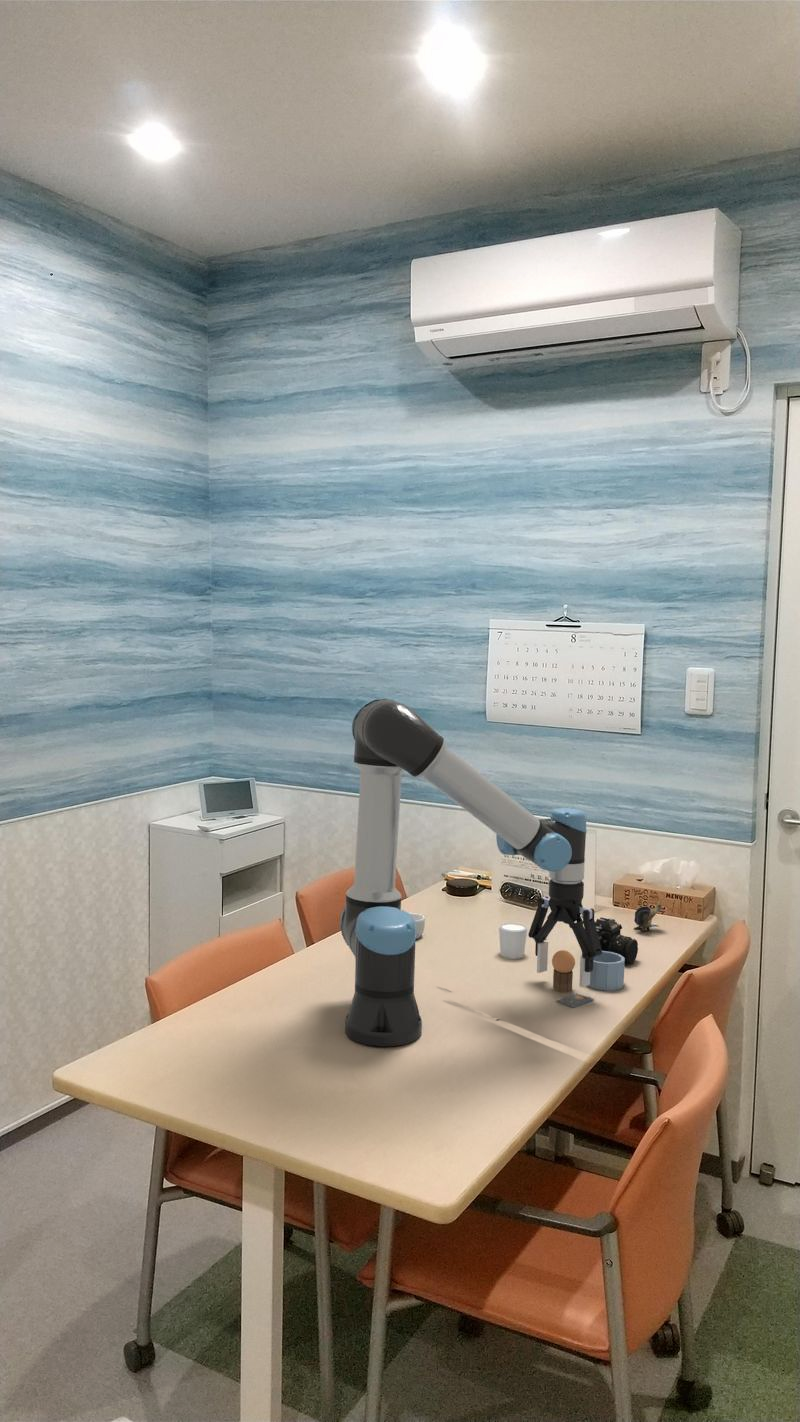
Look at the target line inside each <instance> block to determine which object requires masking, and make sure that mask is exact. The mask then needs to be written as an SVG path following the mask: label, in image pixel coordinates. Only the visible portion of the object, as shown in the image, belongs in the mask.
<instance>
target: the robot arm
mask: <svg viewBox="0 0 800 1422" xmlns="http://www.w3.org/2000/svg"><path fill="white" fill-rule="evenodd" d="M351 724H352V725H351V731H352V733H351V734H352V737H353V740H354V753H353V754H354V755H353V764H354V765H355V766H356V767H357V769H358V770H359V771H360V778H359V793H358V794H359V795H358V810H357V826H356V829H357V830H356V842H355V843H356V844H355V845H356V846H355V860H354V862H355V864H354V877H353V880H354V881H353V885H352V886H351V887H350V888H349V889H347V890H346V892H345V905H344V906H345V907H343V911H342V913H341V915H340V916H341V917H340V932H341V935H342V938H343V940H344V942H345V943H346V945H347V946H348V947H349V950H350V952H351V953H352V955H353V956H354V958H355V959H354V960H355V966H354V967H355V969H354V994H353V997H352V1000H351V1002H350V1007H349V1012H348V1013H347V1015H346V1017H345V1018H344V1019H345V1021H344V1032H345V1034H346V1036H347V1037H348V1038H350V1040H353V1041H355V1042H357V1043H360V1044H363V1045H368V1046H376V1047H377V1046H378V1047H395V1046H400V1045H406V1044H409V1043H412V1042H414V1041H416V1040H418V1039H419V1038H421V1036H422V1031H423V1020H422V1016H421V1015H420V1012H419V1011H420V1010H419V1007H418V1003H417V1000H416V997H415V973H416V972H415V968H416V967H415V965H416V940H417V939H416V929H415V921H414V919H413V917H412V916H411V915H410V914H409V913H410V912H407V911H405V910H403V909H401V908H402V894H401V892H400V891H399V890H398V889H397V888H396V876H397V875H396V872H397V856H398V841H399V823H400V811H401V809H400V807H401V794H402V793H401V792H402V790H401V789H402V778H403V775H402V774H403V773H404V772H407V773H408V774H410V775H411V777H414V778H423V779H424V780H425V781H427V782H428V783H430V785H432V786H433V787H435V788H436V789H437V790H439V791H440V792H441V793H443V794H444V795H445V796H447V798H449V799H450V800H452V801H453V802H455V804H457V805H458V806H460V807H461V808H462V809H463V810H465V811H466V812H467V813H468V814H470V815H471V816H473V818H475V819H476V820H478V821H479V822H480V823H482V824H483V825H485V826H486V827H487V828H488V829H490V830H491V831H492V832H493V833H495V834H496V836H495V837H496V845H497V846H496V847H497V849H498V851H499V852H500V853H501V854H502V855H503V856H505V855H508V856H513V857H514V856H522V857H523V858H524V859H526V860H528V861H529V862H531V863H533V864H534V865H536V866H538V867H539V868H540V869H541V870H544V871H547V872H549V874H548V877H549V878H550V880H549V881H548V896H549V897H548V896H543V897H539V898H537V909H536V910H535V913H534V917H533V920H532V923H531V925H530V928H529V931H528V932H527V934H528V935H527V936H528V938H530V939H531V938H532V939H533V940H534V943H535V952H534V953H535V956H537V957H536V959H537V962H536V973H538V974H540V973H543V972H547V971H548V964H549V963H548V958H549V954H548V953H549V941H547V940H548V938H547V937H548V936H549V935H550V934H551V932H552V930H553V929H554V927H555V926H556V925H557V923H558V922H562V923H564V924H567V925H568V926H569V928H570V929H571V930H572V931H573V934H574V936H575V939H576V941H577V943H578V945H579V948H580V950H581V953H582V952H583V955H584V956H582V955H581V956H580V959H579V961H580V962H579V984H578V985H579V987H580V988H585V987H588V985H590V972H591V971H593V961H594V957H595V956H598V955H601V954H602V949H601V945H600V941H599V937H598V933H597V929H596V925H595V922H596V920H595V909H594V908H589V909H588V908H585V907H584V906H583V903H582V902H583V899H584V892H585V889H584V888H585V883H584V881H583V880H584V879H585V864H586V863H585V861H586V860H585V859H586V858H585V857H586V855H585V854H586V839H587V816H586V813H585V812H584V811H583V810H580V809H577V808H568V807H567V808H565V807H560V808H554V809H552V811H551V813H550V814H551V815H550V818H544V819H542V818H541V819H539V818H538V817H536V816H535V815H534V814H532V812H530V811H528V810H527V809H526V808H525V807H523V806H522V805H521V804H520V803H518V802H517V801H516V800H515V799H514V798H512V797H510V796H509V795H508V794H507V793H506V792H505V791H503V790H502V789H501V788H499V787H498V786H497V785H495V784H494V783H493V782H492V781H491V780H489V779H488V778H487V777H485V776H484V775H483V774H482V773H480V772H479V771H478V770H477V769H475V768H474V767H473V766H471V765H470V764H469V763H467V762H466V761H465V760H464V759H463V758H461V757H460V756H459V755H457V754H456V753H455V752H453V750H451V749H450V748H448V747H447V745H446V739H445V737H443V736H442V735H441V734H439V733H438V732H437V731H435V730H434V728H432V727H431V726H430V725H429V724H427V722H426V721H425V720H424V719H423V718H422V717H421V716H420V715H419V714H418V713H417V712H416V711H414V710H413V708H411V707H410V706H408V705H406V704H404V703H401V702H398V701H395V700H393V699H389V698H375V699H373V700H369V701H367V702H366V703H364V704H363V705H361V706H360V707H359V709H358V710H356V712H355V714H354V717H353V718H352V723H351ZM549 909H550V913H549V914H548V910H549ZM547 914H548V916H547ZM546 916H547V917H546ZM545 920H546V921H545ZM544 921H545V922H544Z"/></svg>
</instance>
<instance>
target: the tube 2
mask: <svg viewBox="0 0 800 1422" xmlns="http://www.w3.org/2000/svg"><path fill="white" fill-rule="evenodd" d="M625 965H626V964H625V958H624V957H623V956H621V955H620V954H616V953H613V952H607V951H602V954H601V955H598V956H595V957H594V961H593V971H591V972H590V985H588V986H587V987H588V988H590V989H593V990H600V991H617V990H621V989H622V988H624V985H625Z"/></svg>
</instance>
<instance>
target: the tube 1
mask: <svg viewBox="0 0 800 1422" xmlns="http://www.w3.org/2000/svg"><path fill="white" fill-rule="evenodd" d="M573 973H574V972H573V970H572V971H571V972H569V973H560V972H557V971H556V970H555V969H554V968H553V975H552V989H553V990H554V991H556V992H560V993H568V992H571V991H573V976H574V974H573Z"/></svg>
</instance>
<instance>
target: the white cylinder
mask: <svg viewBox="0 0 800 1422" xmlns="http://www.w3.org/2000/svg"><path fill="white" fill-rule="evenodd" d="M498 930H499V931H498V933H499V951H500V956H501V957H503V958H506V959H510V960H511V959H512V960H515V959H517V960H518V959H521V958H523V957H524V956H525V949H526V942H527V936H528V935H527V934H528V927H527V926H526V925H523V924H518V923H504V924H500V925H499V926H498Z"/></svg>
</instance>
